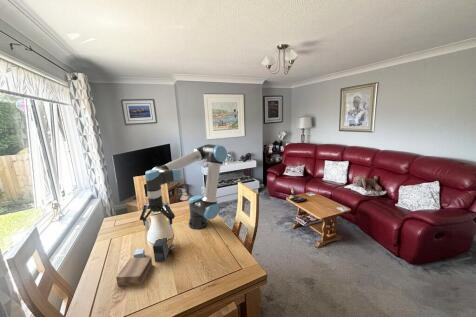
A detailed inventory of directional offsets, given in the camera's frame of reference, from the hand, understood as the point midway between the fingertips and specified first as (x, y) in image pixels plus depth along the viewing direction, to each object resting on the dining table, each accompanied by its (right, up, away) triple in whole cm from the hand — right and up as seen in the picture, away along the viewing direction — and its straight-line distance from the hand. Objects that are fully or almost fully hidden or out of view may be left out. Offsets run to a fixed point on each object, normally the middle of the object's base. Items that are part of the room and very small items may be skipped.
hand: (158, 229), depth 119 cm
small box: (+1, -17, +4) cm, 18 cm away
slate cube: (-12, -18, +1) cm, 22 cm away
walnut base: (-8, -20, -11) cm, 25 cm away
